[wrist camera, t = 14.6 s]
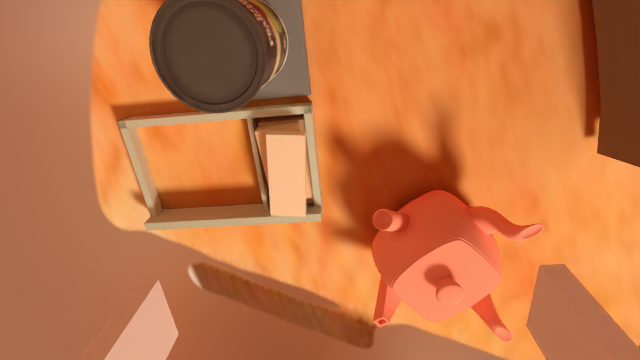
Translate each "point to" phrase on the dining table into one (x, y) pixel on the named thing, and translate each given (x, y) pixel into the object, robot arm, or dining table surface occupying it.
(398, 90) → the dining table surface
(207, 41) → the coffee can
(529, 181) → the dining table surface
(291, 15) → the mat
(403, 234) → the teapot
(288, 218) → the rack
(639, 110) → the book
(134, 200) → the dining table surface
